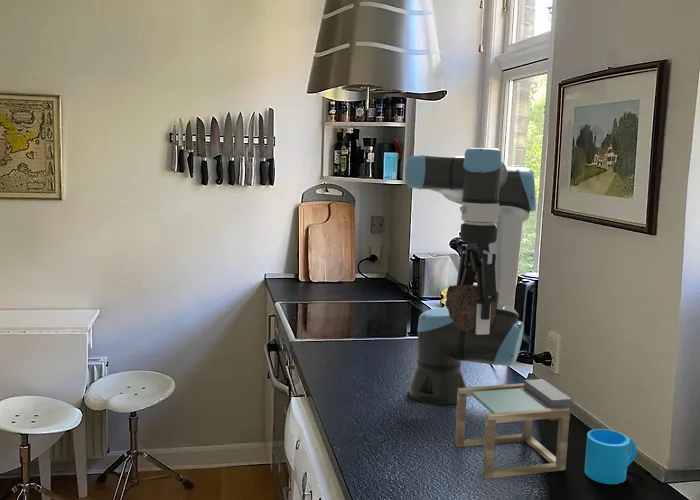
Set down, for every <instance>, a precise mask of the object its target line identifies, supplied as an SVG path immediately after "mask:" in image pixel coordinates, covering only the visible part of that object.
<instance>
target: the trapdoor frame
mask: <svg viewBox="0 0 700 500" xmlns="http://www.w3.org/2000/svg"><path fill="white" fill-rule="evenodd" d="M521 387H523V388H524V382H522V383H510V384H509V383H507V384H496V385H495V384H494V385H481V386H479V385H478V386H466V387H465V388H458V393H457V404H456V413H455V415H456V416H455V418H456V419H455V421H456V422H455V437H454V438H455V440H454V442H455V443H454V445H455V446H456V447H457V448H465V447H474V446H476V447H477V446H483V460H482V462H483V463H482V476H483V477H484V479H495V478H506V477H513V476H515V477H516V476H523V475H533V474H541V473H551V472H561V471H566V468H567V467H566V466H567V457H568V455H567V453H568V442H569V441H568V440H569V439H568V438H569V427H570V419H569V417H570V418H571V415H570V409H568V408H567V407H560V408H548V409H536V410H524V411H512V412H501V413H491V412H489V413H486V414H485V422H484V423H485V425H484V426H485V427H484V437H474V438H465V433H466V431H465V429H466V416H467V415H466V411H467V397H473V396H472V392H479V391H492V390H505V389H518V388H521ZM549 418H559V420H558V422H557V425H558V426H557V438H556V440H557V441H556V451H555V452H556V453H555V455H554V454H553V453H552V452H550V450H549V449H547V448H546V447H545V446H544V445H543V444H541V443H540V442H539V441H538V440H537V439H535V438H534V437H533V436H532V434H533V433H532V432H533V431H532V429H533V421H535V420H550V419H549ZM513 422H522V431H521V432H522V433H518V434H517V433H516V434H507V435H505V434H504V435H497V436H496V426H497V425H496V424H503V423H513ZM515 442H516V443H517V442H526V443H527V444H528V445H529V446H531V447H532V448H533V450H535V451H536V452H537V453H538V454H539V455H540V456H542V457H543V458H544V459H545V460H546V461H547V462H548V463H542V464H534V465H523V466H514V467H504V468H496V469H494V457H495V444H504V443H515Z"/></svg>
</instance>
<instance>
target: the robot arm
mask: <svg viewBox="0 0 700 500" xmlns="http://www.w3.org/2000/svg"><path fill="white" fill-rule="evenodd" d="M404 174H405V175H404V177H405V184H406V186H407V187H408V188H410V189H418V190H430V191H433V192H437V193H439V194H442V196H443V197H444V198H445V199H447V200H448V201H450V202H453V203H456V204H459V205H461V206H460V207H459V211H460V212H461V216H460V217H461V220H462V221H463V222H462V223H461V224H460V234H459V235H460V236H459V239H460V240H461V241H462V242H464V243H467V244H461V246H460V258H459V266H458V273H457V279H456V285H475V284H474V283H475V279H476V286H477V287H478V295H479V300H478V301H476V304H477V316H476V334H475V333H471V332H468V331H461V330H458V329H457V328H456V326H455V325H454V322H453V321H452V319H451V318H450V316H449V311H448V309H447V307H446V306H445V307H435V308H432V309H427V310H425V311H423V312H422V313H421V314H420V315H419V318H418V326H417V330H416V331H417V342H416V343H417V345H416V346H417V349H416V351H417V352H416V366H415V369H414V371H413V374H412V378H411V379H410V383H409V386H408V387H409V388H408V390H409V391H408V393H409V396H410V397H411V398H412V399H414V400H416V401H417V402H419V403H422V404H423V403H424V404H428V405H436V406H449V405H457V393H458V388H465V387H467V386H466V383H465V379H464V378H465V377H464V374H463V371H462V362H469V363H477V364H485V365H493V366H497V367H498V366H503V367H510V366H513V365H514V364H515V362H516V361H517V358H518V356H519V353H520V349H521V346H522V341H523V334H524V331H525V330H524V329H525V325H524V323H523V321H521V320H519V319H520V315H519V313H518V311H516V309H515V308H514V307H515V298H516V289H517V279H518V272H519V271H518V270H519V269H518V268H519V261H520V251H521V244H522V243H521V241H522V233H523V223H524V222H525V221H527V220H528V219H529V217H530V213H532V212H535V211H536V210H537V208H536V207H537V201H536V200H537V199H536V184H535V173H534V171H533V170H532V169H531V168H528V167H519V166H515V167H514V166H506V165H505V163H504V162H503V161H502V151H501V150H500V149H499V148H488V147H487V148H483V147H468V148H467V149H466V150H465V151H464V156H443V155H442V156H441V155H425V154H422V155H412V156H409V158H408V159H407V160H406V165H405V173H404ZM496 291H497V292H498V293H499V299H498V304H497V310H496V314H495V318H494V322H493V324H491V325H490V313H491V304H492V303H496ZM487 296H488V297H487Z"/></svg>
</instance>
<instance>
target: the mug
mask: <svg viewBox="0 0 700 500" xmlns="http://www.w3.org/2000/svg"><path fill="white" fill-rule="evenodd" d="M629 450H630V452H629ZM636 455H637V445H636V443H635V441H633V439H631V438H630V437H628V436H627V435H625V434H624V433H621V432H618V431H615V430H612V429H607V428H597V429H596V428H595V429H591V430H589V431H588V432H587V435H586V447H585V459H584V474H585V475H586V476H587V477H588V478H589V479H591V480H593V481H595V482H597V483H600V484H606V485H620V484H619V483H621V484H622V482H623V483H625V482H626V480H627V474H628V473H627V472H628V467H629V466H630V465H631V464H632V462H633V461H634V459H635V458H636ZM624 481H625V482H624Z"/></svg>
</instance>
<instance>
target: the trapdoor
mask: <svg viewBox="0 0 700 500" xmlns="http://www.w3.org/2000/svg"><path fill="white" fill-rule="evenodd" d="M523 383H524V388H523V387H521V388H518V389H505V390H492V391H479V392H472V396H471V397H473V399H475V400H476V401H477V402H478V403H480V404H481V406H482V407H484V408H485V409H486V410H487V411H488V412H489V413H501V412H512V411H524V410H536V409H548V408H560V407H567V408H568V409H570V417H569V420H571V413H572V412H571V411H572V401H573V400H572V399H573V398H571V397H569V395H567V394H565V393H563V392H562V391H561V390H560V389H558V388H556V387H555V386H553V385H552V384H550V383H549V382H547V381H546V380H544V379H543V378H539V379H524V382H523ZM548 420H550V421H551V422H553V421H559V418H549V419H548Z"/></svg>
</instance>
